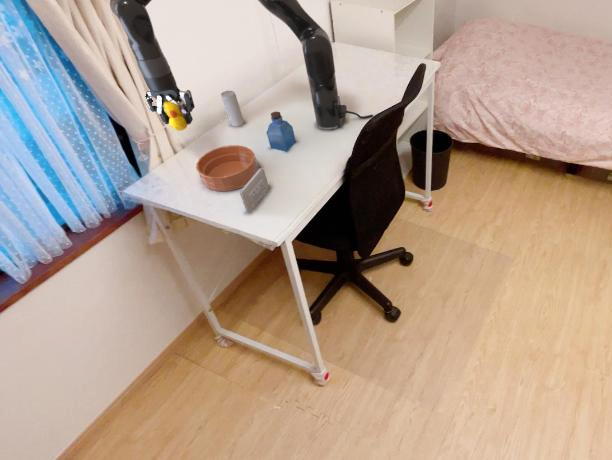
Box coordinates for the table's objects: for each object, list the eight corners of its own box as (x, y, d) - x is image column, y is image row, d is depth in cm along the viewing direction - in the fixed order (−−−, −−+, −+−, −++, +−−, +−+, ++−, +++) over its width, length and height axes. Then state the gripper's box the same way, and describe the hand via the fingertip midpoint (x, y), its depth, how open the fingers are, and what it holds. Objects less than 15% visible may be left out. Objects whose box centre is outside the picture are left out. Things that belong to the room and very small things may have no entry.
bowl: (264, 159, 144) (260, 145, 140) (250, 192, 132) (245, 177, 128) (213, 159, 144) (207, 145, 140) (194, 192, 131) (187, 177, 128)
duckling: (192, 135, 133) (179, 106, 126) (173, 139, 131) (159, 110, 124) (190, 118, 140) (177, 89, 133) (172, 121, 139) (158, 92, 132)
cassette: (265, 187, 133) (259, 166, 128) (271, 188, 133) (264, 167, 128) (245, 212, 125) (237, 191, 120) (251, 213, 125) (243, 192, 119)
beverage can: (240, 128, 158) (230, 97, 149) (228, 126, 158) (217, 96, 150) (246, 121, 161) (237, 91, 153) (235, 119, 162) (225, 89, 153)
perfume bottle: (296, 141, 151) (288, 111, 143) (286, 151, 147) (278, 120, 139) (280, 138, 153) (272, 107, 144) (270, 148, 148) (262, 116, 140)
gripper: (124, 76, 120) (150, 129, 132) (176, 76, 120) (197, 129, 132) (136, 65, 125) (161, 116, 137) (186, 65, 125) (206, 116, 137)
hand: (178, 122), depth 135 cm, fingers closed on duckling, 6 cm apart
